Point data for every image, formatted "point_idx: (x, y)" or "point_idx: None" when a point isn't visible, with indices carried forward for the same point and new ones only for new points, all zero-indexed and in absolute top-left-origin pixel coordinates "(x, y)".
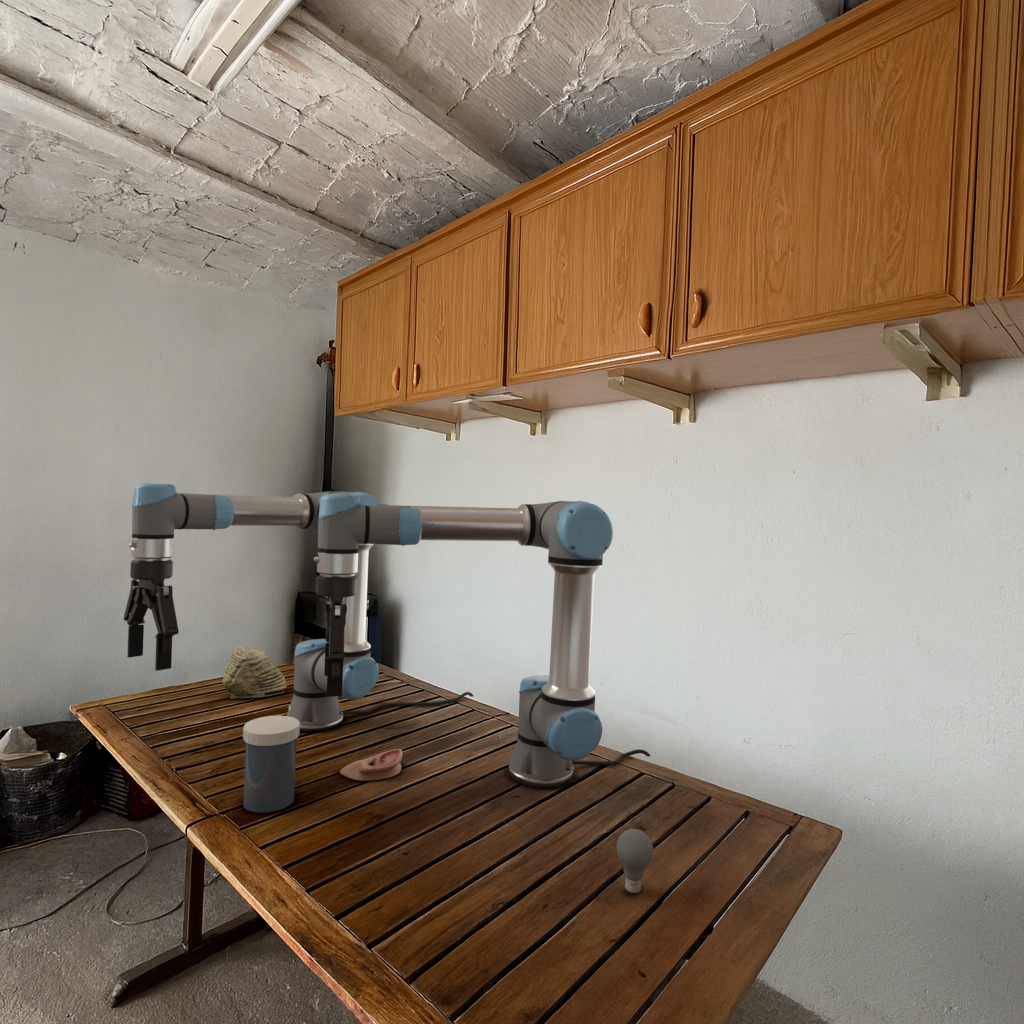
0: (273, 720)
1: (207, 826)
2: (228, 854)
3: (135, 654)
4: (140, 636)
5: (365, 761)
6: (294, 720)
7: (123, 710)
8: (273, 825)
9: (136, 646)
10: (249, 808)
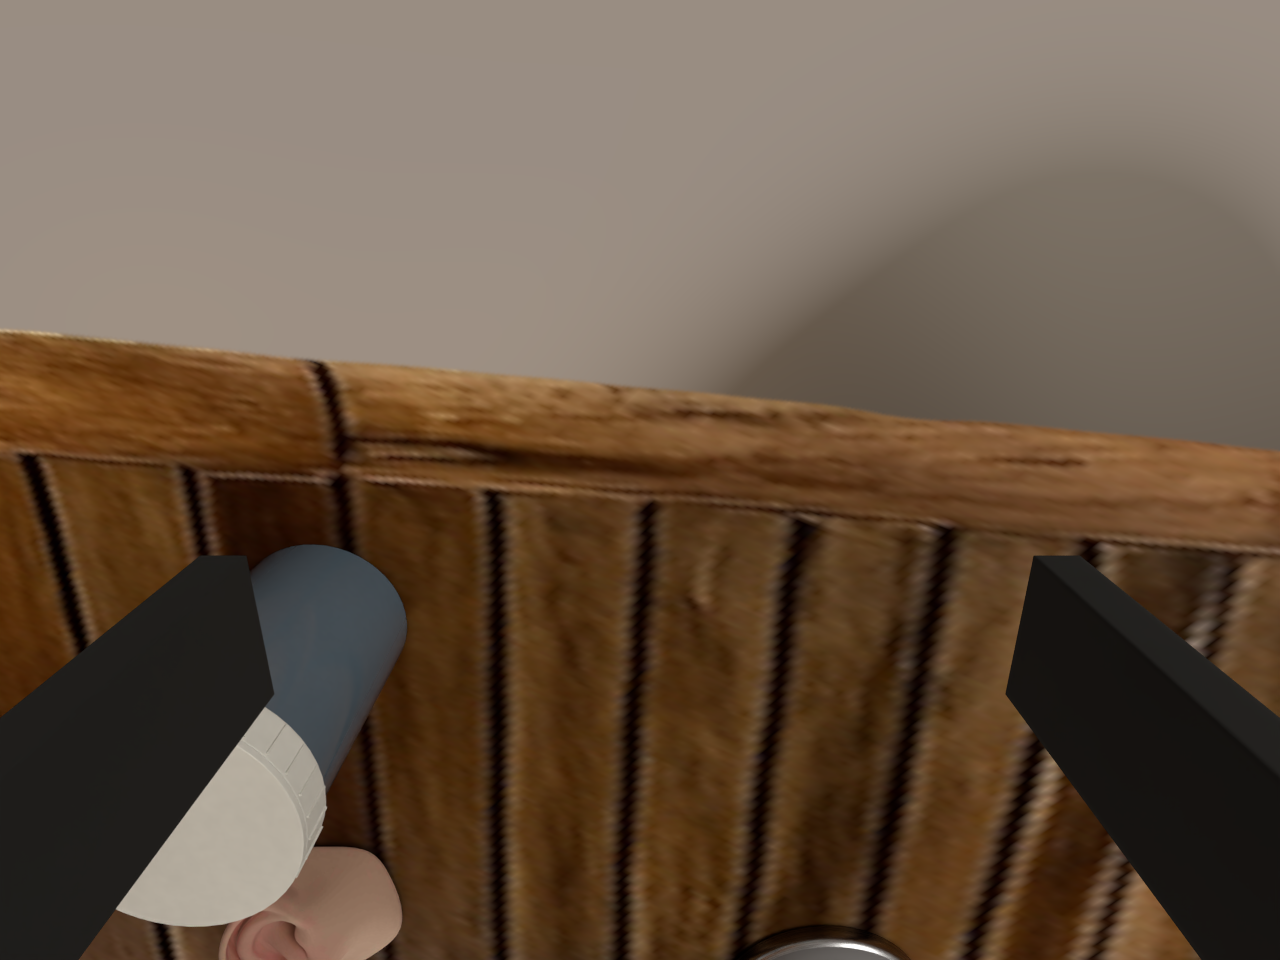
0: (222, 856)
1: (272, 404)
2: (43, 368)
3: (1034, 637)
4: (1170, 864)
5: (299, 927)
6: (165, 912)
7: None
8: (150, 549)
9: (1091, 710)
10: (290, 549)
